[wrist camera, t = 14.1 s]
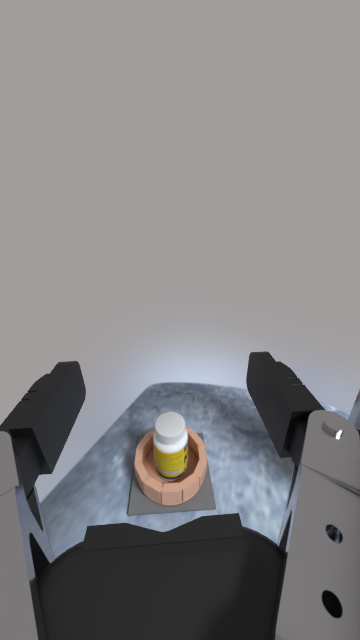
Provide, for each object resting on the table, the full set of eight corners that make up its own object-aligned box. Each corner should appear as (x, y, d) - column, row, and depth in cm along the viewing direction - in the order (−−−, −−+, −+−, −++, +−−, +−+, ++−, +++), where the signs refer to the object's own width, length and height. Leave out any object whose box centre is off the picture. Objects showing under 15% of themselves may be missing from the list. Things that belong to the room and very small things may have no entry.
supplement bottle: (190, 479, 31) (191, 436, 27) (156, 485, 30) (152, 443, 26) (184, 447, 35) (184, 407, 31) (154, 452, 34) (150, 411, 31)
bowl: (200, 435, 38) (200, 422, 36) (211, 503, 28) (212, 489, 27) (140, 438, 37) (139, 425, 36) (132, 509, 28) (130, 494, 27)
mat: (202, 434, 38) (202, 432, 38) (215, 509, 28) (215, 507, 28) (138, 437, 38) (137, 436, 37) (128, 515, 28) (127, 514, 27)
